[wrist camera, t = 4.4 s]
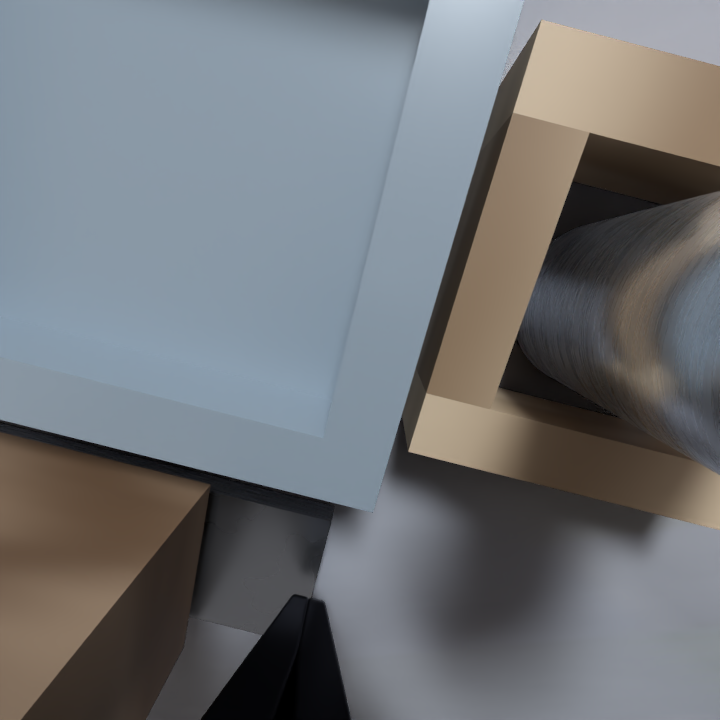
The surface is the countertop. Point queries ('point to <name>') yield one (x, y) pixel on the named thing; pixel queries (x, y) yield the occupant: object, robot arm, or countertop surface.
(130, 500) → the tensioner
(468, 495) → the countertop surface
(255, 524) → the rail
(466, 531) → the countertop surface
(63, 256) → the tray
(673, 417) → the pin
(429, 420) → the socket
